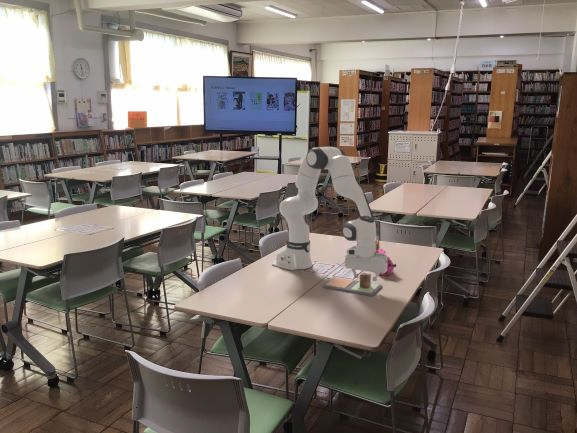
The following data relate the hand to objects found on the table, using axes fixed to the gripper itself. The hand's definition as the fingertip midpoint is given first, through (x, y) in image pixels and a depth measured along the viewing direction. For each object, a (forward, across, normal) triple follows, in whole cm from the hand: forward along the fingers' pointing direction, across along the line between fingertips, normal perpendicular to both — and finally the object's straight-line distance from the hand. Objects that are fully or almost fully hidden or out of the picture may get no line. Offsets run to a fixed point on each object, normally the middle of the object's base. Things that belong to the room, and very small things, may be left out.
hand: (365, 279), depth 230 cm
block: (+4, 0, 0) cm, 4 cm away
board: (+5, +6, 0) cm, 8 cm away
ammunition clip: (+5, +13, -45) cm, 47 cm away
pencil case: (+6, +2, -32) cm, 33 cm away
